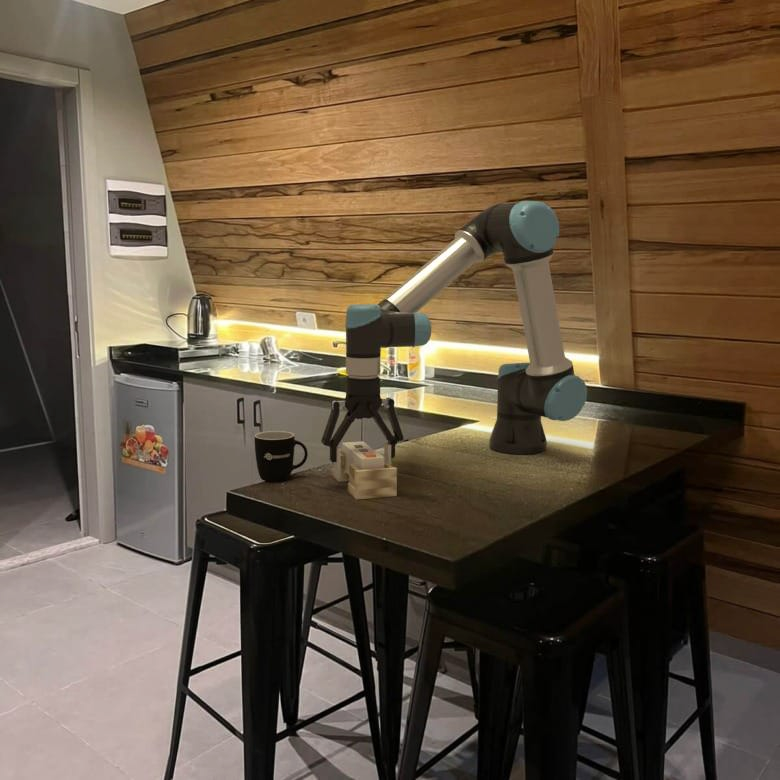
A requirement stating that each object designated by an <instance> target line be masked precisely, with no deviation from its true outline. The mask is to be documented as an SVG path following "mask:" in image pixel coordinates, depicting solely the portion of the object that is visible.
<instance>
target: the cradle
mask: <svg viewBox="0 0 780 780" xmlns="http://www.w3.org/2000/svg"><path fill="white" fill-rule="evenodd" d="M331 476H332V477H333V478H334V479H335V480H336V481H337V482H338V483H341V482H347V493H349V495H351V496H352V497H353V498H354V499H355V500H356V501H357V500H366V499H367V500H368V499H376V498H378V499H379V498H388V497H389V498H391V497H397V494H398V492H397V491H398V490H397V488H398V485H397V484H398V482H397V481H398V468H397V467H395V466H393V465H392V464H391V465H390V464H389V463H388V462H384V468H380V469H367V470H360V469H359V468H357V467H356V466H355V465H354V464H350V465H349V474H348V473H346V472H345V471H344V455H343V454H342V448H341V478H337V477H336V476H335V475H334V462H331Z"/></svg>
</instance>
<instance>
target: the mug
mask: <svg viewBox="0 0 780 780" xmlns="http://www.w3.org/2000/svg"><path fill="white" fill-rule="evenodd" d="M296 445H299V446H300V447H302V449H303V452H304V456H303V459H302V460H301V461H300V462H299V463H297V464H294V457H295V447H296ZM254 451H255V460H256V461H255V462H256V468H257V471H258V472H257V473H258V475H259V477H260V480H262V481H264V482H267V481H268V483H279V482H285V481H287V480H289V479H290V477H291V474H292V472H293V471H294V470H296V469H299V468H300V467H302V466H303V465H305V463H306V462H307V460H308V454H309V453H308V449H307V447H306V445H305V444H304V443H303V442H301V441H299V440H297V439H295V433H293V432H289V431H284V430H283V431H282V430H268V431H262V432H261V431H260V432H258V433H256V434H255V435H254Z"/></svg>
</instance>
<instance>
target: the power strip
mask: <svg viewBox="0 0 780 780" xmlns="http://www.w3.org/2000/svg"><path fill="white" fill-rule="evenodd" d="M341 449H342V454H343V455H344V471H345V472H346V473H348V474H349V465H350V464H354V465H355V466H356V467H357V468H359V469H360V470H367V469H380V468H384V455H382V454H380V453H379V452H378V451H376V450H375V449H374V448H372V447H371V446H369V445H368V444H367V443H366V442H365V441H363V440H362V441H349V442H346V441H345V442H341Z"/></svg>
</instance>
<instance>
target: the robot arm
mask: <svg viewBox="0 0 780 780" xmlns="http://www.w3.org/2000/svg"><path fill="white" fill-rule="evenodd" d="M559 236H560V224H559V220H558V216H557V214H556V213H555V211H554V210H553V208H551V206H549V205H547V204H546V203H544V202H541V201H537V200H522V201H513V202H506V203H504V202H503V203H496V204H493V205H491V206H489V207H487V208H485V209H483V210H482V211H481V212H479V213H478V214H477V215H476V216H474V217H473V218H471V219H470V220H469V221H468V222H466V224H464V225H463V226H462V227H460V228H459V229H458V230H457V231H456V232H455V233H454V239H453V240H452V241H451V242H449V244H447V245H446V246H444V247H443V248H442V249H441V250H440V251H439V252H438V253H437V254H436V255H434V256H433V257H432V258H431V259H429V261H427V262H426V263H425V264H424V265H422V266H421V267H420V268H419V269H418V270H416V272H414V273H413V274H412V275H411V276H410V277H408V278H407V279H406V280H405V281H404V282H403V283H401V284H400V285H399V286H398V287H397V288H396V289H394V290H393V291H392V292H391V293H390V294H389V295H387V296H386V297H385V298H383V299H382V300H381V301H380V302H379V303H378V304H368V303H366V304H365V303H364V304H362V303H361V304H360V303H358V304H350V305H349V306H348V307H347V309H346V315H345V325H344V326H345V374H346V375H347V377H345V398H344V400H335V399H333V400H332V401H331V403H330V404H331V405H330V406H331V409H330V410H331V411H330V414H329V416H328V420H327V423H326V425H325V428H324V431H323V434H322V438H321V441H320V442H321V443H322V445H324V446H325V447H329V460H330V461H331V463H332V462H334V475H335V476H336V477H337V478H341V449H342V447H341V448H340V446H339V445H340V443H341V441H342V440H343V438H344V437H345V434H346V433H347V432H348V430H349V428H350V427H351V425H352V423H354V422H355V420H356V419H357V420H363V419H373V420H374V422H375V423H376V425H377V426H378V428H379V430H380V431H381V433H382V434H383V436H384V437H385V439H386V440H387V442H383V443H384V444H383V445H384V446H383V457H384V462H388V463H389V464H390V465H392V459H395V457H396V445H397V444H398V442H401V441H402V442H403V441H404V440H405V439H404V437H405V436H404V435H403V432H402V428H401V425H400V422H399V419H398V417H397V414H396V410H395V400H394V399H393V398H391V397H386V398H382V397H381V378H380V377H379V375H381V373H382V372H381V369H382V368H381V354H382V353H381V352H382V348H383V349H387V348H409V347H410V348H411V347H412V348H415V347H421V346H422V347H423V346H425V345H427V344H428V343H429V341H430V339H431V336H432V324H431V321H430V318H429V316H428V315H427V314H426V313H424V312H419V311H421V309H423V308H424V307H425V306H426V305H427V304H428V303H429V302H431V301H432V300H433V299H434V298H436V296H437V295H439V294H440V293H441V292H442V291H443V290H445V288H447V287H448V286H449V285H451V283H453V282H454V281H455V280H456V279H458V277H460V276H461V275H462V274H463V273H464V272H465V271H467V270H468V269H469V268H470V267H471V266H472V265H474V264H480V263H482V262H483V261H484V260H486V259H487V258H489V257H490V256H493V255H496V254H499V253H502V255H503V260H504V265H505V266H506V267H508V268H509V269H511V270H512V273H513V279H514V284H515V289H516V295H517V298H518V299H517V300H518V306H519V309H520V315H521V321H522V325H523V326H522V327H523V331H524V332H523V333H524V337H525V342H526V347H527V354H528V358H529V359H528V360H529V362H514V363H513V362H512V363H503V364H501V365H500V366H499V368H498V374H497V399H496V401H497V403H496V406H497V407H496V408H497V409H496V420H495V423H494V426H493V428H492V431H491V434H490V436H489V448H490V449H492V450H493V451H496V452H500V453H504V454H510V455H511V454H513V455H533V454H534V455H535V454H540V453H544V452H545V451H547V444H548V441H547V437H546V434H545V430H544V426H543V424H542V418H543V417H544V418H547V419H548V420H552V421H559V422H567V421H571V420H572V419H575V418H576V417H577V416H578V415H579V414H580V412H581V411H582V408H583V407H584V406H585V405H586V402H587V398H588V397H587V396H588V389H587V385H586V383H585V380H583V379H582V377H580V376H579V375H576V374H575V371H574V364H573V361H572V360H571V359H569V358H568V357H566V355H565V349H564V343H563V337H562V331H561V327H560V326H561V325H560V320H559V315H558V308H557V303H556V297H555V292H554V286H553V281H552V275H551V269H550V261H551V259H552V257H553V256H554V254H555V253H554V246H555V245H556V244H557V242H558V240H557V238H559ZM381 406H383V408H385V410H386V413H387V416H388V417H387V418H388V420H389V424H390V425H391V429H392V432H391V431H390V429H389V428H388V426H387V425H386V423H385V422H384V420H383V418H382V416H381V415H380V413H379V411H378V410H379V409H380V408H381ZM344 407H345V408H346V410H347V412H346V414H345V415H344V417H343V420H342V421H341V423H340V425H338V427H337V430H336V431H335V428H336V425H337V422H338V419H339V416H340V412H341V411H342V410H343V408H344ZM334 431H335V432H334Z"/></svg>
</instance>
